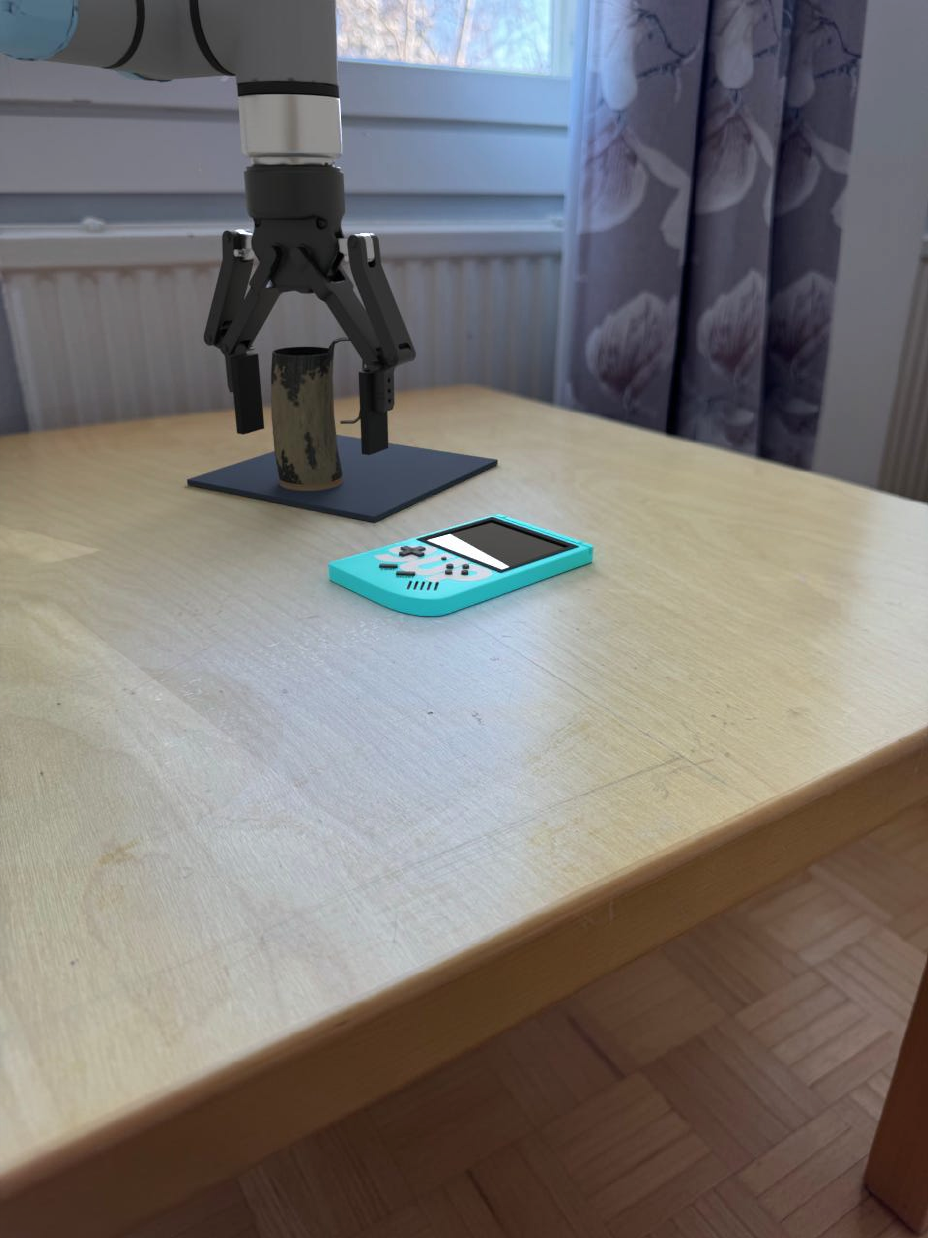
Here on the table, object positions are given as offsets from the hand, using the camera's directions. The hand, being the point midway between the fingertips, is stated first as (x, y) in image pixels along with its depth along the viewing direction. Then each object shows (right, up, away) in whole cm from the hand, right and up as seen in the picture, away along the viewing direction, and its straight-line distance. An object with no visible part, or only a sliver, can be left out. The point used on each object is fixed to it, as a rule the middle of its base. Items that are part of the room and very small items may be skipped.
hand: (310, 441), depth 82 cm
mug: (+1, -3, +2) cm, 4 cm away
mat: (+3, -2, +6) cm, 6 cm away
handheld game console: (+13, -12, -16) cm, 24 cm away
